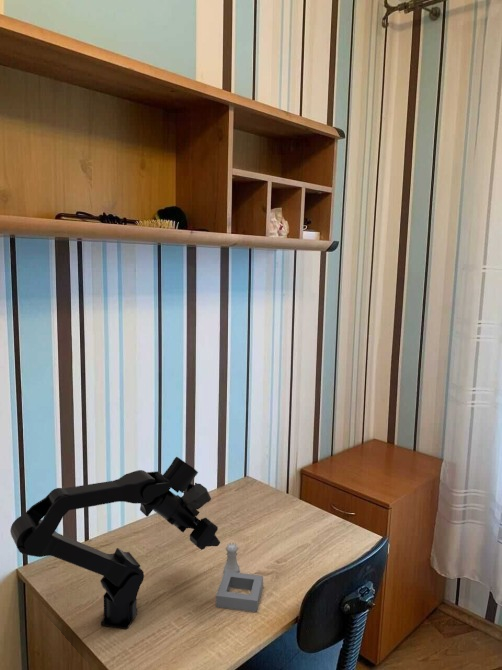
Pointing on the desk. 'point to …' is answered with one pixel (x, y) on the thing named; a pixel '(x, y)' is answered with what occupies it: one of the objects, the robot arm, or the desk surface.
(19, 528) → the robot arm
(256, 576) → the hollow square block
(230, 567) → the rook chess piece
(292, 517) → the desk surface
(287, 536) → the desk surface
